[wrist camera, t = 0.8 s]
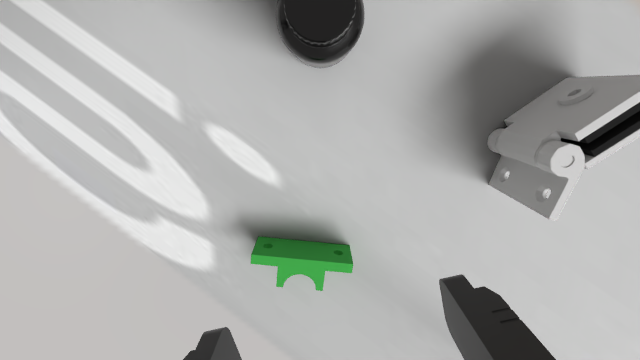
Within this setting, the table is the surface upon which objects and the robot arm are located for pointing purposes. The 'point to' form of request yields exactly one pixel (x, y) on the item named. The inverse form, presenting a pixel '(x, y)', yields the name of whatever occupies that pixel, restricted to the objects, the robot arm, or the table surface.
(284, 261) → the pipe clamp
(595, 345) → the table surface
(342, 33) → the supplement bottle
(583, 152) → the hinge
